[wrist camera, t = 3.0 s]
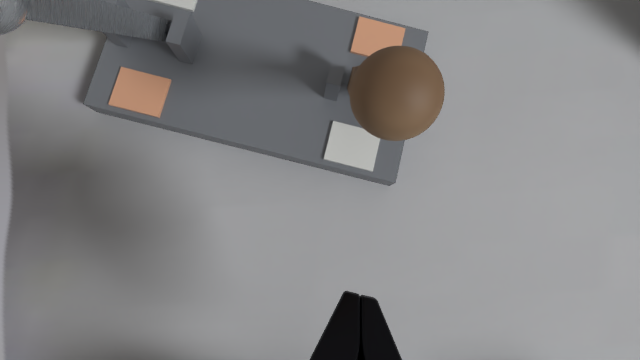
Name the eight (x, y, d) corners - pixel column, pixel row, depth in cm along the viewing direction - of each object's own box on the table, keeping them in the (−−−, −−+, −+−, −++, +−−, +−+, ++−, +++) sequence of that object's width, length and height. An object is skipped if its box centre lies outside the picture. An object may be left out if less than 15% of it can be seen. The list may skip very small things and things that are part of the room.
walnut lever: (385, 111, 22) (436, 160, 10) (339, 100, 22) (339, 135, 10) (399, 64, 22) (472, 57, 10) (352, 52, 22) (367, 30, 10)
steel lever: (174, 57, 22) (-24, 43, 10) (128, 45, 22) (-126, 17, 10) (180, 8, 21) (-27, -73, 9) (132, -5, 21) (-138, -102, 9)
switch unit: (389, 185, 24) (406, 176, 20) (97, 112, 23) (56, 88, 20) (420, 43, 25) (442, 9, 21) (146, -29, 25) (117, -76, 21)
